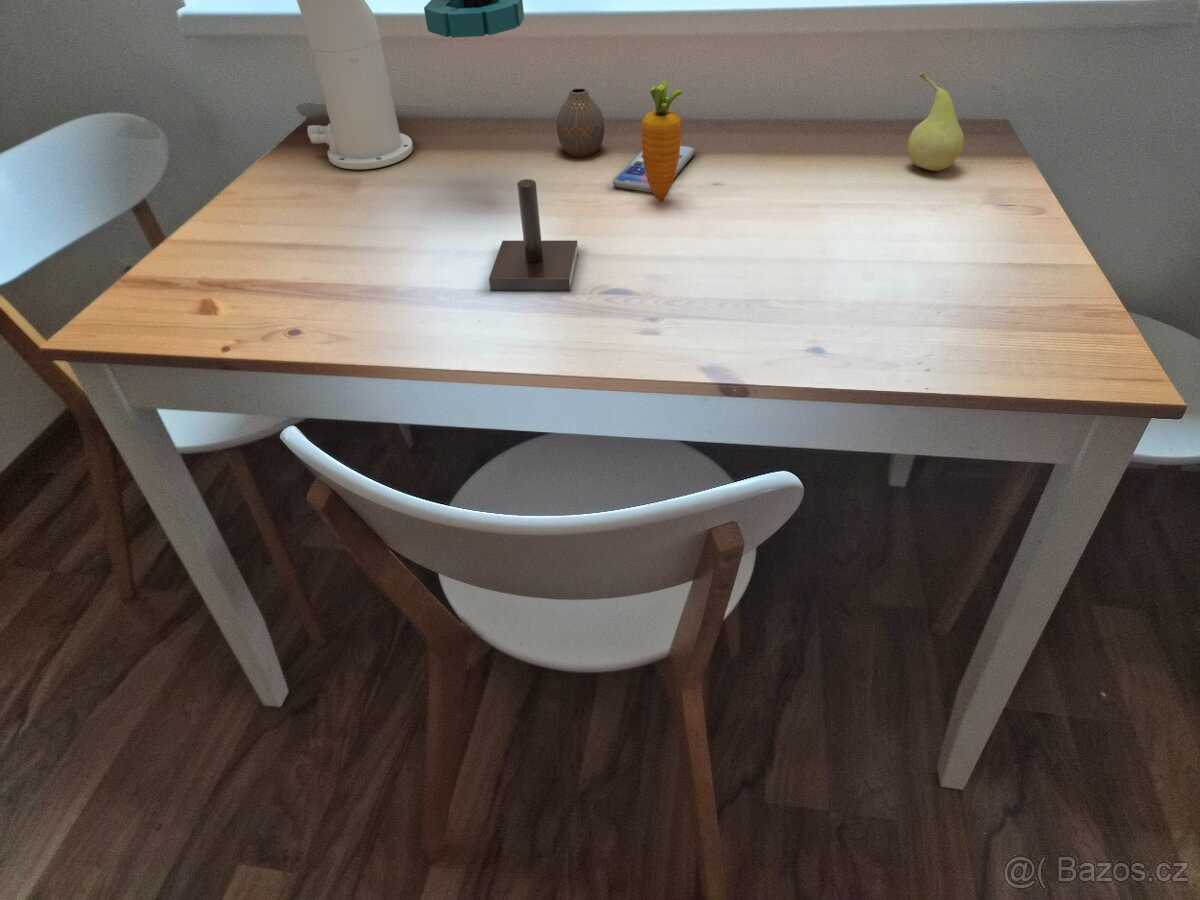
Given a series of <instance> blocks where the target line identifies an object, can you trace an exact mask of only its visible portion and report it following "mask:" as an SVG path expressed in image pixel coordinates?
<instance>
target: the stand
mask: <svg viewBox="0 0 1200 900" xmlns="http://www.w3.org/2000/svg"><path fill="white" fill-rule="evenodd" d="M516 186H517V187H516V188H517V195H518V203H519V212H520V221H521V230H522V231H521V232H522V239H523V240H501V243H500V245H499V249H498V253H497V255H496V258H495V260H494V263H493V266H492V269H491V271H490V274H489V277H488V282H489V283H488V284H489V289H490V290H489V291H555V292H556V291H557V292H559V291H561V292H562V291H563V292H564V291H565V292H566V291H569V292H570V291H571V287H572V283H573V279H574V272H575V268H576V264H577V259H578V254H579V245H578V244H579V243H578V240H576V239H575V240H572V239H571V240H567V239H565V240H561V239H560V240H558V239H557V240H555V239H554V240H542V231H541V222H540V221H541V220H540V211H539V201H538V193H537V191H538V190H537V182H536V181H535V180H534V179H531V178H526V179H521V180H519V181H517V183H516Z"/></svg>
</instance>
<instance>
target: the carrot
mask: <svg viewBox="0 0 1200 900" xmlns="http://www.w3.org/2000/svg"><path fill="white" fill-rule="evenodd" d="M668 86H669V81H668V80H663V81H662V82H661V83H660V84H659V85H658V86H657V87H656V86H653V87H651V88H650V90H649V93H650V96H651V97H652V100H653V102H654V105H655V110H652V111H648V113H646V114H645V116H644V118H643V119H642V121H641V125H640V126H641V127H640V129H641V151H642V153H643V161H644V167H645V172H646V176H647V180H648V183H649V186H650V188H651V190H652V192H653V193H652V192H651V193H652V194H653V196H654V198H655V200H656V201H657V202H659V203H663V202H664V201H665V199H666V198H667V196H668V194H669V192H670V190H671V188H672V186H673V182H674V180H675V178H676V176H675V173H676V169H677V164H678V159H679V153H680V145H681V142H682V141H681V139H682V118H681V116H680V115H679V114H678V113H676V112H674V111H672V110H670V109H669V108H670V106H671V105H672V103H673V101H674V100H675V99H676V98H677V97H678V96H680V95H682V94H683V91H682V90H681V89H680V88H678V89H675V90H674V91H673V92H672V93H671V94H670V95H669V97H668V96H667V93H668Z"/></svg>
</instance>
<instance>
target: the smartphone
mask: <svg viewBox="0 0 1200 900" xmlns="http://www.w3.org/2000/svg"><path fill="white" fill-rule="evenodd" d="M695 154H696V149H695V148H694V147H692V146H687V145H681V144H680V153H679V159H678V164H677V169H676V173H675V177H676V176H677V175H678V174H679V173H680V172H681V171H682V169H683V168H684V167H685V166H686V165H687V164H688V162H689V161H690V160H691V159H692V158H693V156H694V155H695ZM612 184H613V185H614V187H617V188H620V189H628V190H634V191H641V192H646V193H652V194H653V192H652V190H651V188H650V186H649V183H648V180H647V176H646V172H645V167H644V161H643V153H642V150H641V151H640V152H638V154H637V155H636V156H635V157H633V159H631V161H630V162H629V163H628V164H627V165H626V166H625V167H624V168H623V169H622V170H621V171H620V172H619V173H618V174H617V175H616V176H615V177H614V178H613V180H612Z"/></svg>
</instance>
